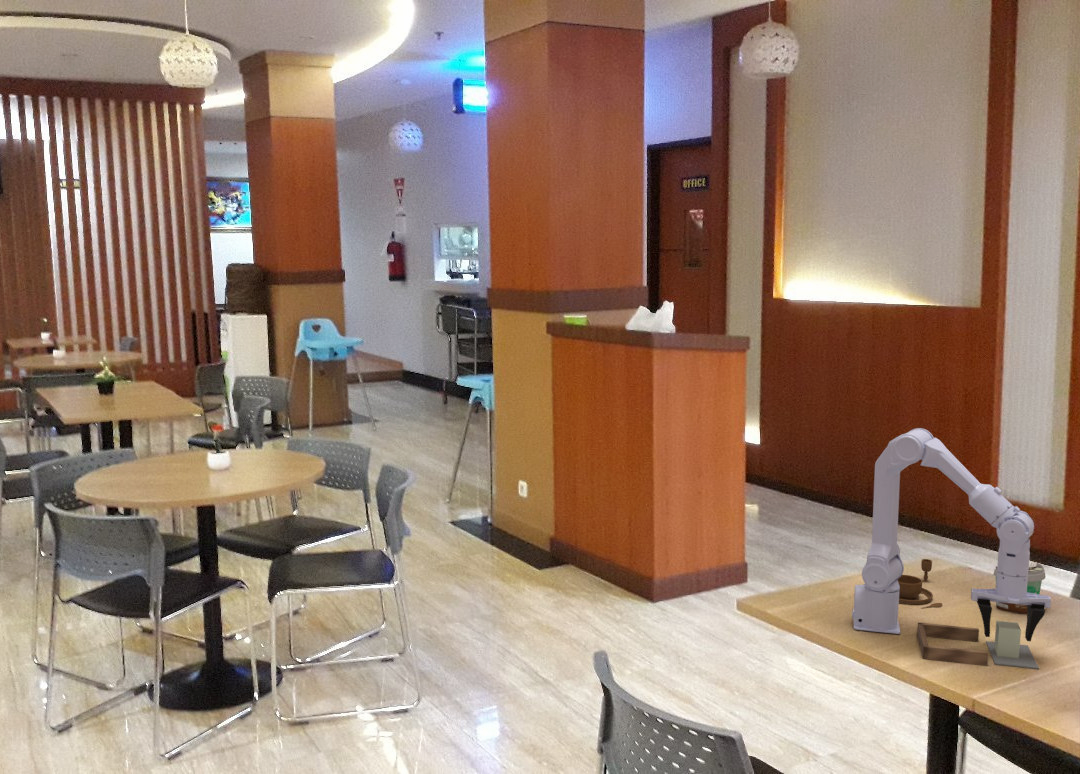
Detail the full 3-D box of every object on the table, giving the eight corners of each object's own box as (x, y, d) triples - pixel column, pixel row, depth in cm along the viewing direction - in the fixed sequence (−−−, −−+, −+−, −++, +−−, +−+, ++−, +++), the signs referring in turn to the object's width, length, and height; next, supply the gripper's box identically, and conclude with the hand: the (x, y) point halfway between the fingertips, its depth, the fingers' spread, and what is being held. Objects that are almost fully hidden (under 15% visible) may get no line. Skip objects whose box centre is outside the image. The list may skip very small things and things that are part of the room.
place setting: (859, 590, 248) (861, 566, 248) (924, 580, 256) (925, 557, 255) (911, 614, 232) (913, 589, 232) (978, 603, 240) (980, 579, 239)
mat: (994, 664, 203) (995, 663, 203) (985, 642, 215) (986, 641, 214) (1039, 669, 201) (1039, 667, 201) (1027, 646, 212) (1027, 645, 212)
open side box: (923, 658, 206) (923, 646, 205) (917, 633, 219) (917, 622, 219) (987, 665, 202) (988, 653, 202) (977, 639, 216) (978, 628, 216)
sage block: (997, 656, 207) (999, 627, 206) (994, 648, 210) (996, 620, 210) (1018, 658, 206) (1020, 629, 205) (1015, 650, 209) (1017, 622, 209)
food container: (1009, 618, 229) (1012, 574, 228) (990, 608, 235) (993, 566, 234) (1055, 613, 232) (1058, 570, 231) (1035, 604, 238) (1038, 562, 237)
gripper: (976, 575, 204) (971, 640, 206) (1056, 582, 200) (1050, 648, 202) (971, 564, 210) (966, 628, 212) (1048, 571, 207) (1043, 635, 209)
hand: (1007, 637), depth 208 cm, fingers open, 7 cm apart
